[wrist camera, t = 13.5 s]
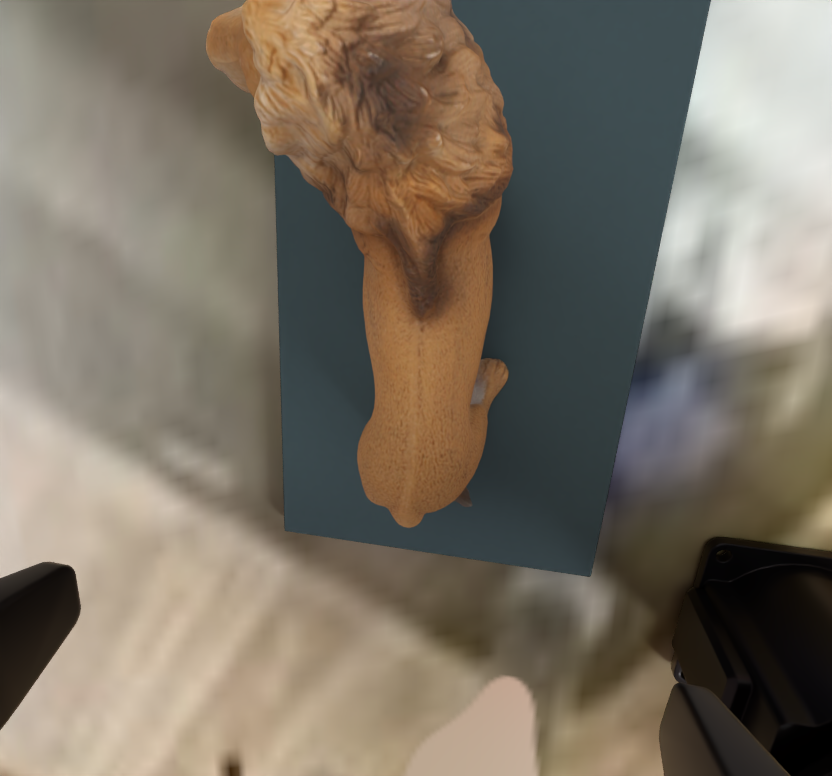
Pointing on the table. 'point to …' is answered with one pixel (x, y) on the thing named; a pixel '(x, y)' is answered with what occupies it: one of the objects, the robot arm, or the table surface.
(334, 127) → the lion figurine
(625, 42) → the dark teal mat
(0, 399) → the table surface
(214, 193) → the table surface
